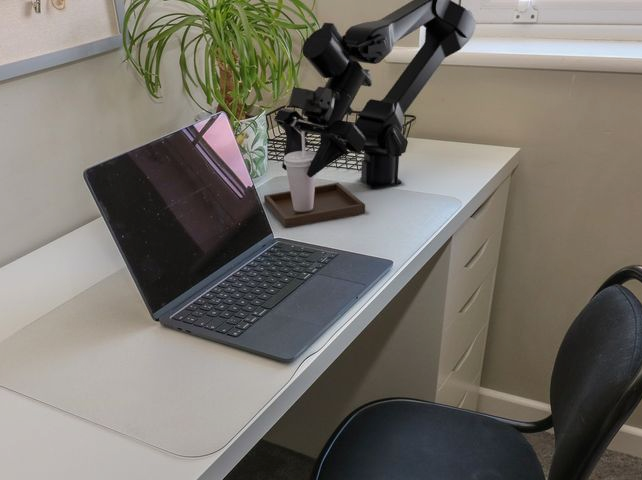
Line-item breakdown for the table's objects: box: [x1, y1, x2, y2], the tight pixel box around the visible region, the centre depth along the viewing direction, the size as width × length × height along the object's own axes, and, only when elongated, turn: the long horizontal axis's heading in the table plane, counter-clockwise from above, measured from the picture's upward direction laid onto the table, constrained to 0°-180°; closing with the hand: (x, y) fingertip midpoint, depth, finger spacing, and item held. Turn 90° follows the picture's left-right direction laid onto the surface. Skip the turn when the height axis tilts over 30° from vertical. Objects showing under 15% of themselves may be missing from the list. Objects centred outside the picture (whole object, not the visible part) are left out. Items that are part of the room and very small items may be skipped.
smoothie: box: [283, 131, 317, 212], centre depth 126 cm, size 6×6×14 cm
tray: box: [263, 182, 366, 229], centre depth 132 cm, size 16×14×2 cm
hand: (296, 172), depth 125 cm, fingers closed on smoothie, 6 cm apart
